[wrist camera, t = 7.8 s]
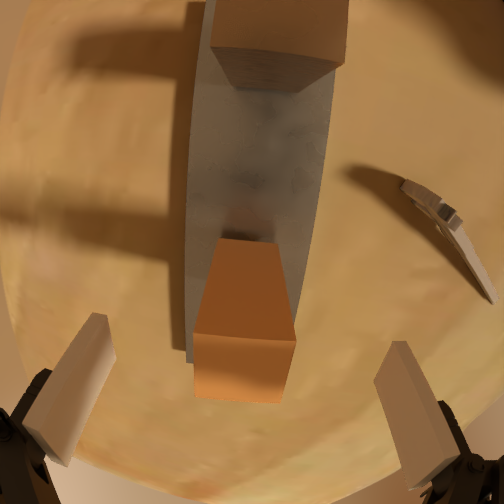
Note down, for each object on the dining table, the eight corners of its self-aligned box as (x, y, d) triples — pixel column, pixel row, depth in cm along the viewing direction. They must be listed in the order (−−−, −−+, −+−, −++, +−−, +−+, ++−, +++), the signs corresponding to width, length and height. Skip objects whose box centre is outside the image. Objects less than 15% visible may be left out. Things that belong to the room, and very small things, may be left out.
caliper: (395, 187, 22) (436, 209, 16) (403, 176, 21) (446, 196, 16) (490, 303, 27) (519, 334, 21) (496, 296, 26) (526, 326, 21)
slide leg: (277, 240, 21) (296, 341, 11) (269, 290, 23) (280, 403, 13) (219, 234, 21) (193, 332, 11) (216, 285, 23) (194, 396, 13)
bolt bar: (334, 17, 16) (411, -64, 5) (281, 360, 28) (293, 475, 17) (209, 3, 16) (168, -97, 4) (189, 352, 28) (163, 465, 16)
